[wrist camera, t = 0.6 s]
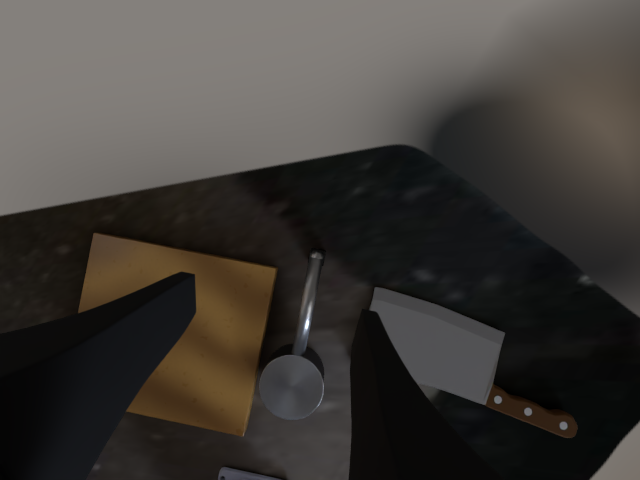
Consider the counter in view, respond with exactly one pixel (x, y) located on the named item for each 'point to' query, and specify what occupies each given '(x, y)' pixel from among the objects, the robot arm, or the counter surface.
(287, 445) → the counter surface
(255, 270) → the chopping board
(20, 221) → the counter surface
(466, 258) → the counter surface
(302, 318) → the grey disc-end rod
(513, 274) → the counter surface
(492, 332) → the kitchen cleaver
